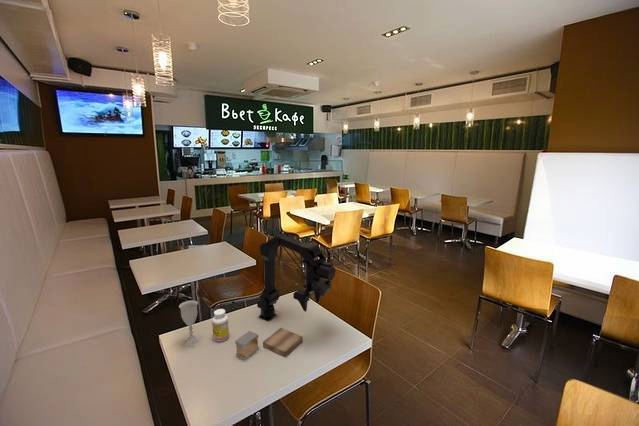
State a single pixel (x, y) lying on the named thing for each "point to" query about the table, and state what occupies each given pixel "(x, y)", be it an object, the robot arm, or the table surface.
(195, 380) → the table surface
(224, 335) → the supplement bottle
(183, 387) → the table surface
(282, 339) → the walnut stand
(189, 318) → the chalice
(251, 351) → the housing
